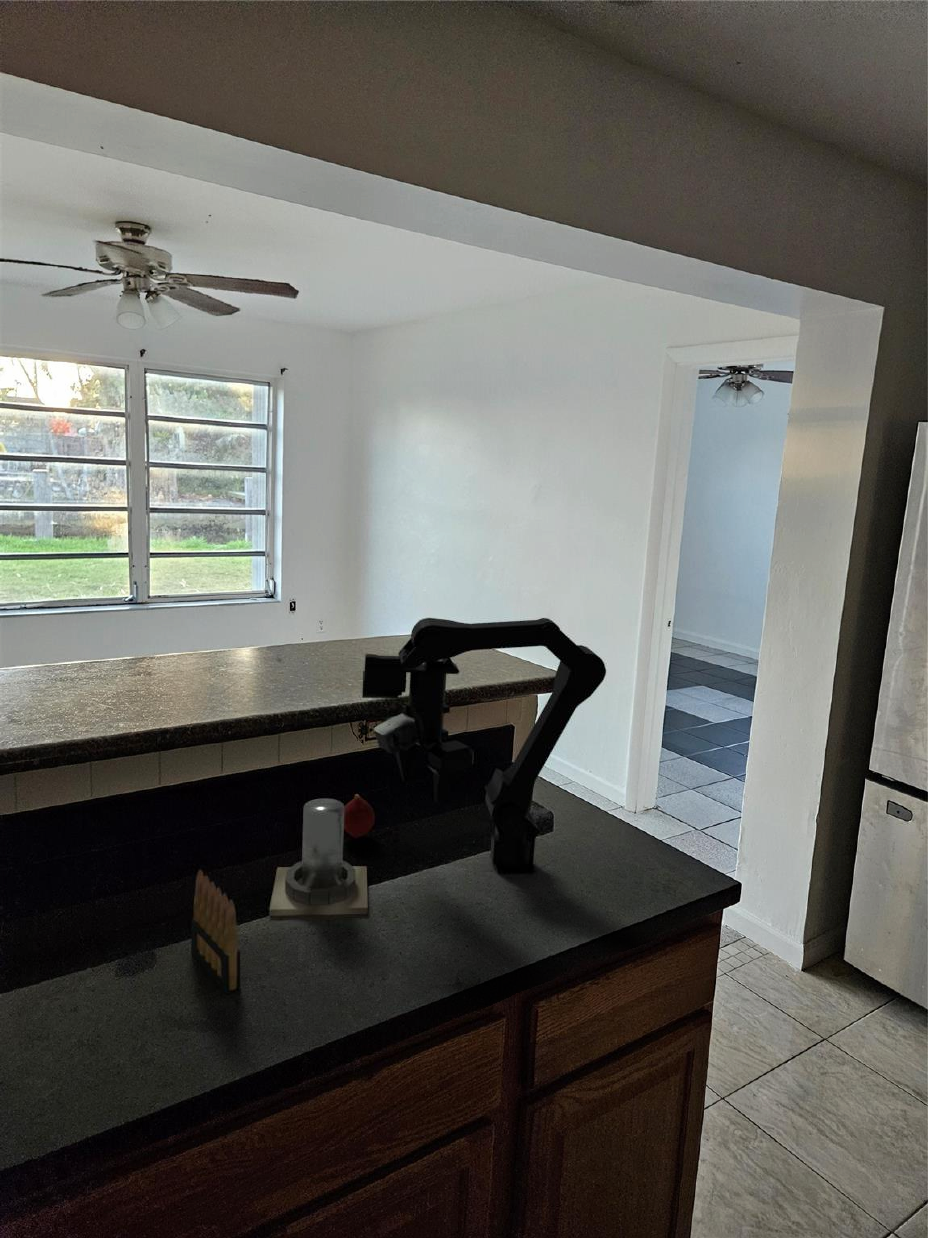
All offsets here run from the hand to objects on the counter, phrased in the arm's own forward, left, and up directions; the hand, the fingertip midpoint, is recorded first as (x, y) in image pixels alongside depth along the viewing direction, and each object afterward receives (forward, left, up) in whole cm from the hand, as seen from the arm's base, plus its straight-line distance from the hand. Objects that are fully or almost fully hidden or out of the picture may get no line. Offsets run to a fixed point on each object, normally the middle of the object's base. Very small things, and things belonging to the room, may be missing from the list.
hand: (421, 791), depth 127 cm
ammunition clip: (+28, +26, -13) cm, 40 cm away
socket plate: (+15, +8, -13) cm, 22 cm away
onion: (+10, -10, -13) cm, 19 cm away
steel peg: (+15, +8, -12) cm, 21 cm away
